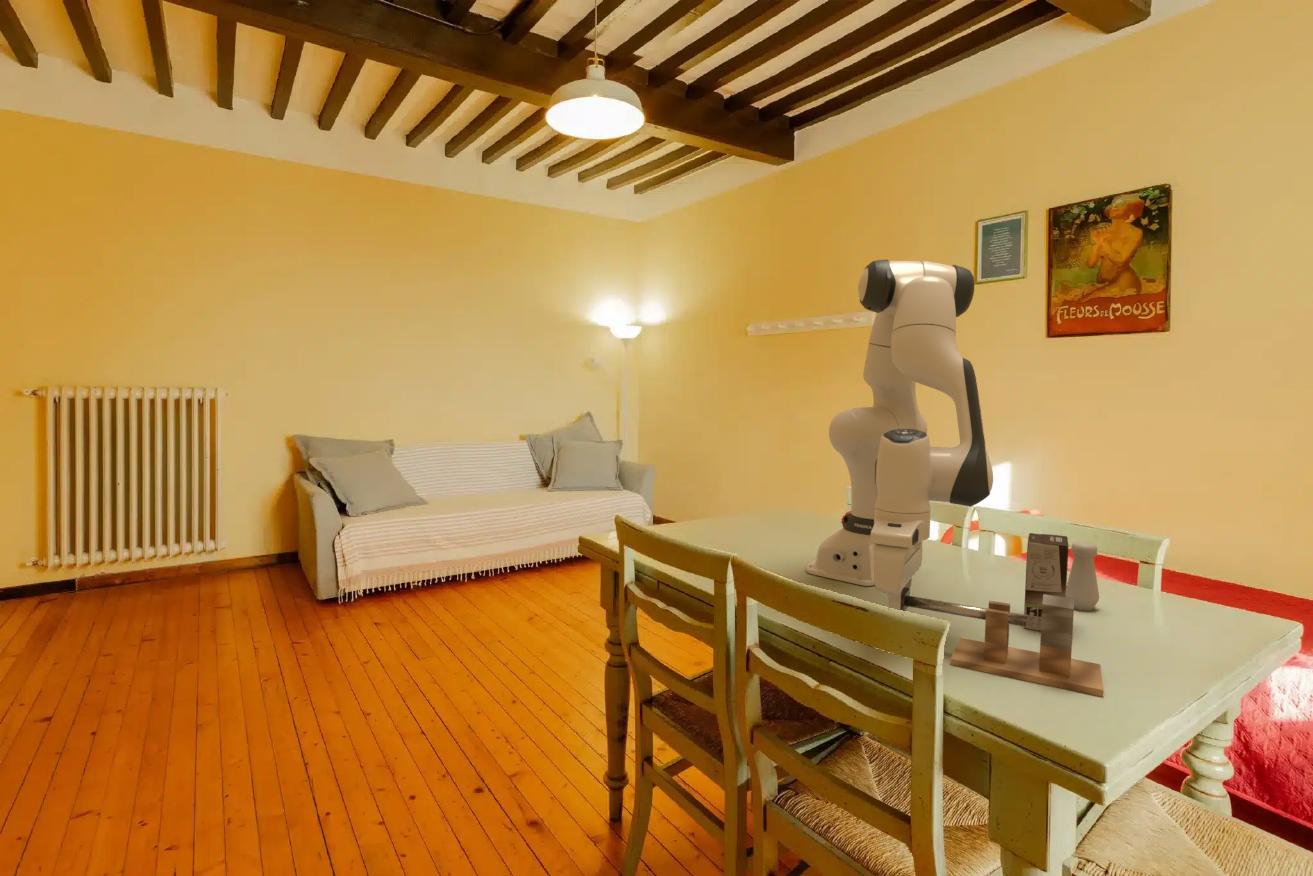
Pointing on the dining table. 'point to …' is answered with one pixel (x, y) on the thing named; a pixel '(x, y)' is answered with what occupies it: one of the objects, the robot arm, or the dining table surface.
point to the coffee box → (1044, 573)
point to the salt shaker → (1083, 577)
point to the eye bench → (1028, 665)
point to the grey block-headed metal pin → (954, 608)
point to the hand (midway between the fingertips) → (899, 604)
